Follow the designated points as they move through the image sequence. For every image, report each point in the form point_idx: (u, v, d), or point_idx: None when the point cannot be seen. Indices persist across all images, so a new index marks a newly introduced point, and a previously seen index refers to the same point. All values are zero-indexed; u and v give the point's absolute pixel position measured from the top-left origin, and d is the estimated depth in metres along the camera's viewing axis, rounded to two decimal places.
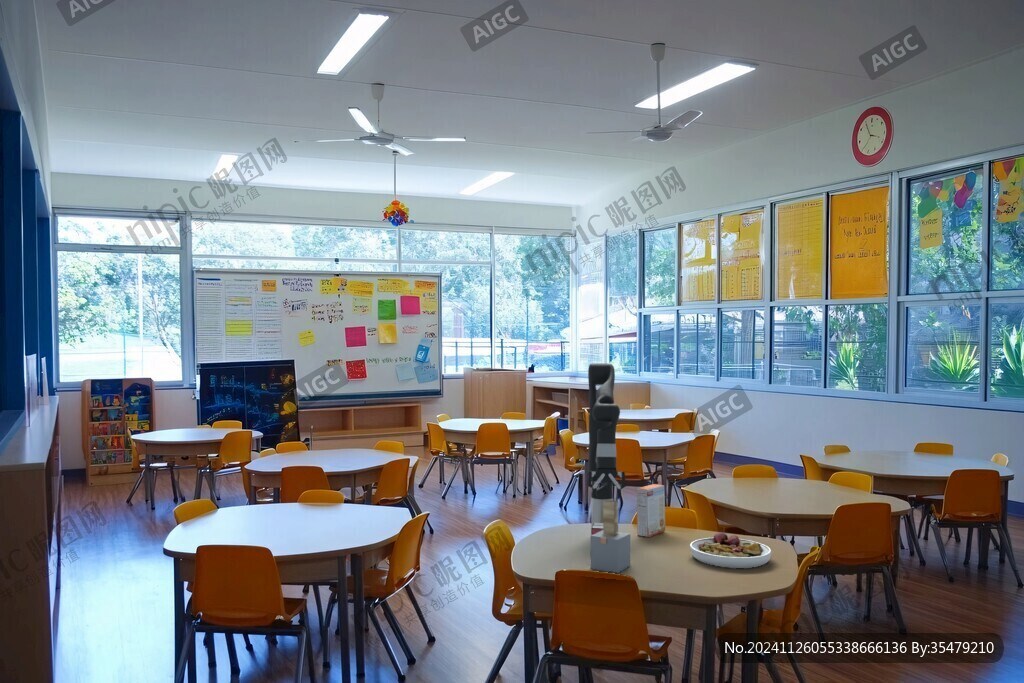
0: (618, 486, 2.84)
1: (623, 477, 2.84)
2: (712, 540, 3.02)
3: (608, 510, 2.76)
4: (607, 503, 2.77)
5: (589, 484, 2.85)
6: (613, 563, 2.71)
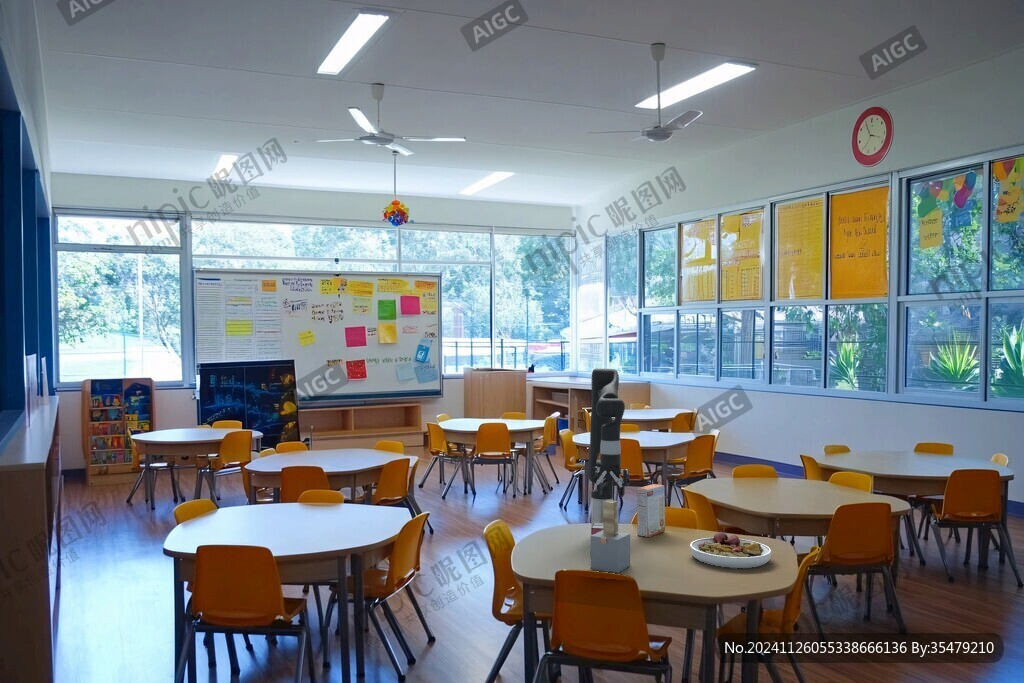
0: (620, 484, 2.75)
1: (624, 475, 2.74)
2: (712, 540, 3.02)
3: (608, 510, 2.76)
4: (607, 503, 2.77)
5: (593, 480, 2.81)
6: (613, 563, 2.71)
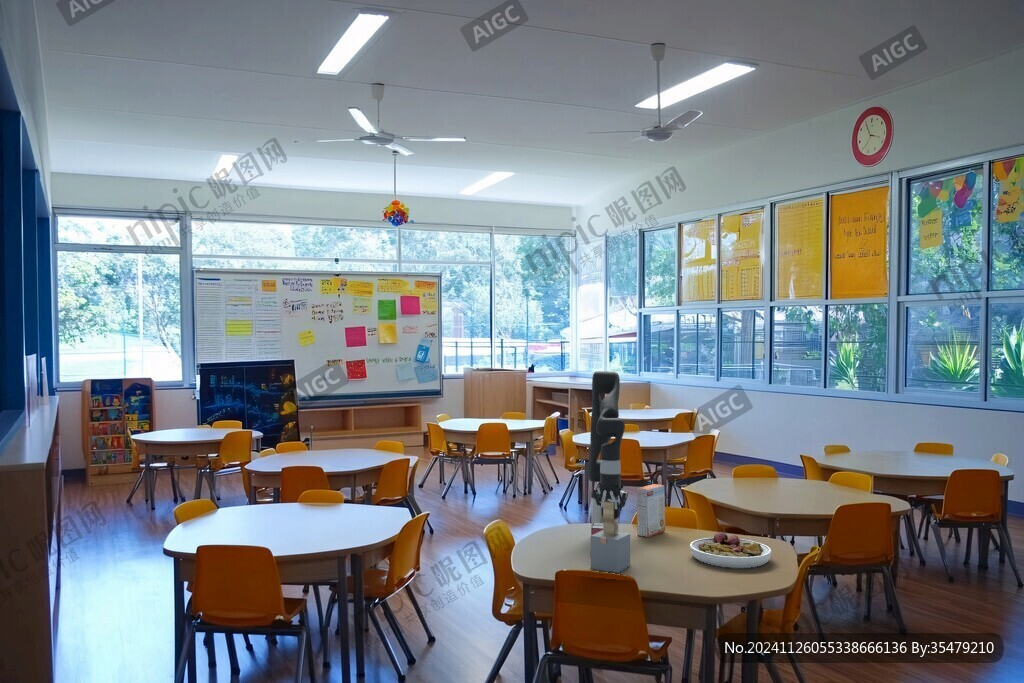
0: (615, 506, 2.76)
1: (622, 498, 2.74)
2: (712, 540, 3.02)
3: (608, 510, 2.76)
4: (607, 503, 2.77)
5: (598, 502, 2.80)
6: (613, 563, 2.71)
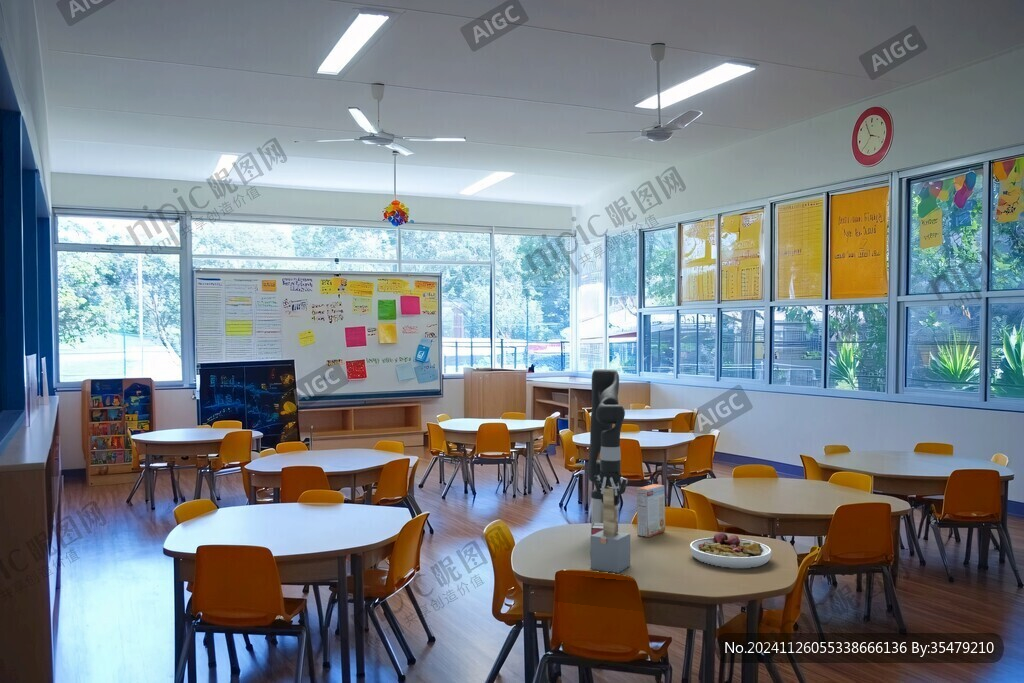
0: (615, 493, 2.76)
1: (622, 485, 2.74)
2: (712, 540, 3.02)
3: (608, 497, 2.76)
4: (607, 490, 2.77)
5: (598, 489, 2.80)
6: (613, 563, 2.71)
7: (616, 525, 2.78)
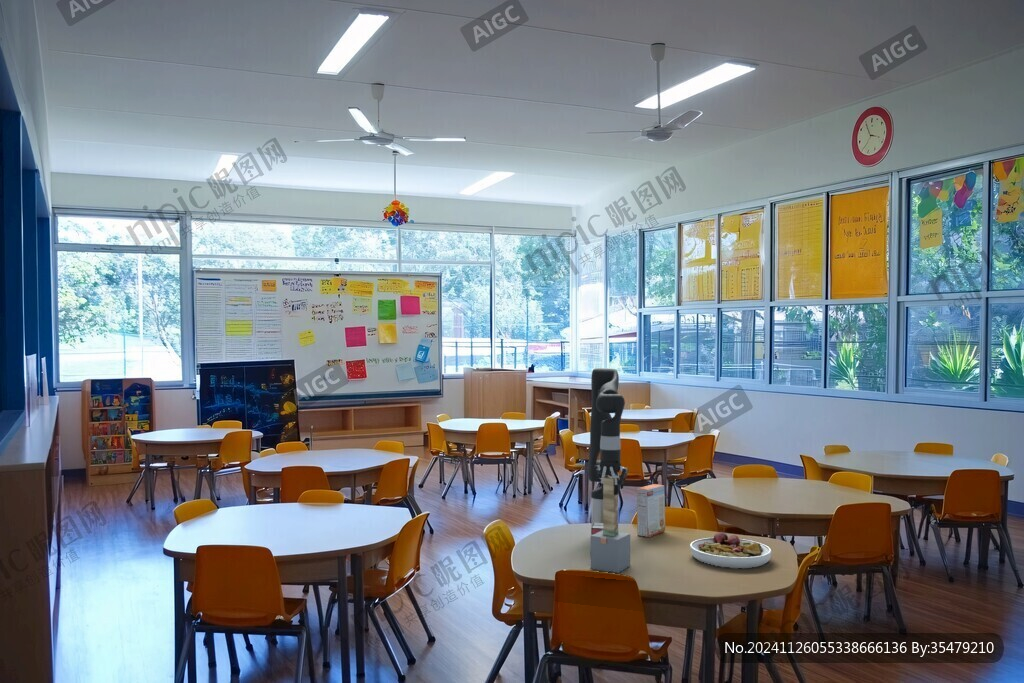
0: (615, 482, 2.76)
1: (622, 474, 2.74)
2: (712, 540, 3.02)
3: (608, 486, 2.76)
4: (607, 479, 2.77)
5: (597, 479, 2.80)
6: (613, 563, 2.71)
7: (616, 514, 2.78)
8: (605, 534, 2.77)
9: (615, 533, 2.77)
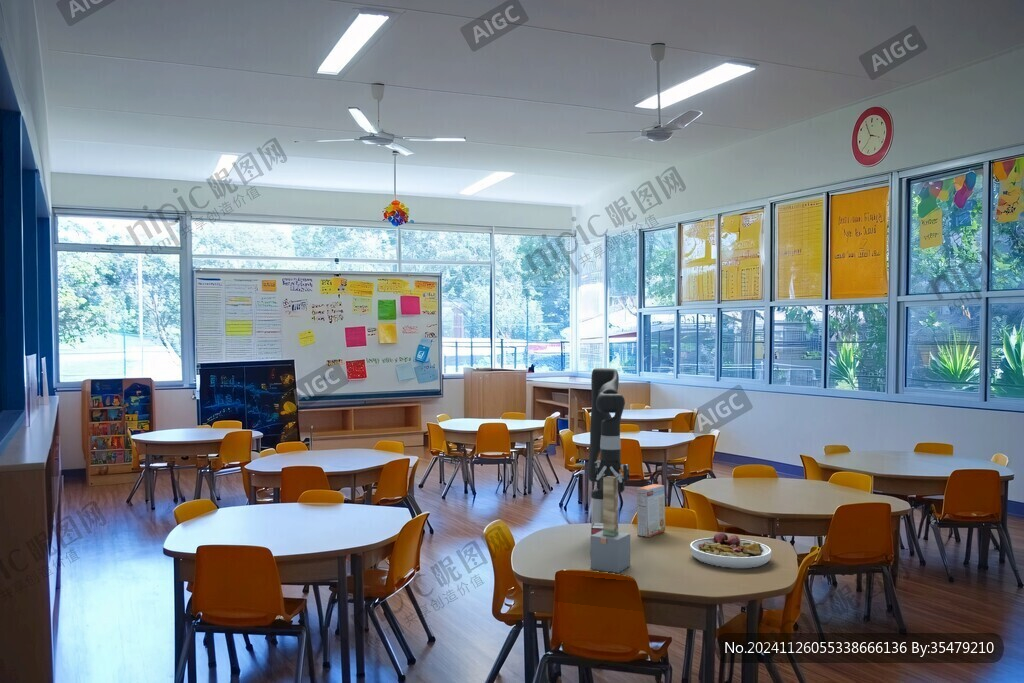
0: (620, 479, 2.75)
1: (624, 471, 2.74)
2: (712, 540, 3.02)
3: (608, 486, 2.76)
4: (607, 479, 2.77)
5: (593, 475, 2.81)
6: (613, 563, 2.71)
7: (616, 514, 2.78)
8: (605, 534, 2.77)
9: (615, 533, 2.77)
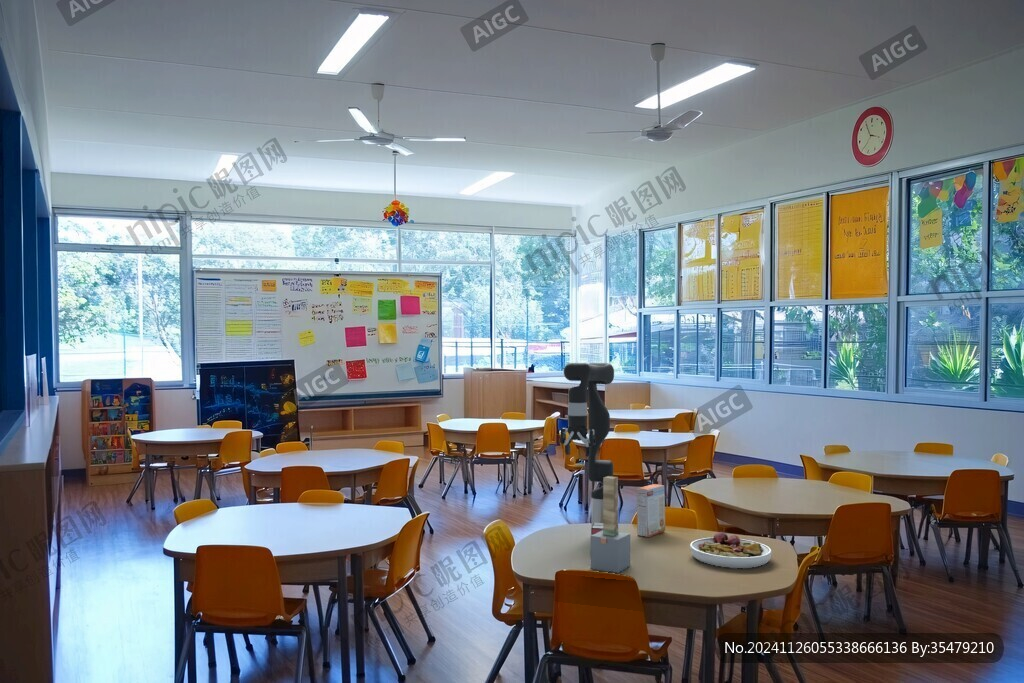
0: (586, 444, 2.88)
1: (591, 436, 2.87)
2: (712, 540, 3.02)
3: (608, 486, 2.76)
4: (607, 479, 2.77)
5: (561, 441, 2.94)
6: (613, 563, 2.71)
7: (616, 514, 2.78)
8: (605, 534, 2.77)
9: (615, 533, 2.77)
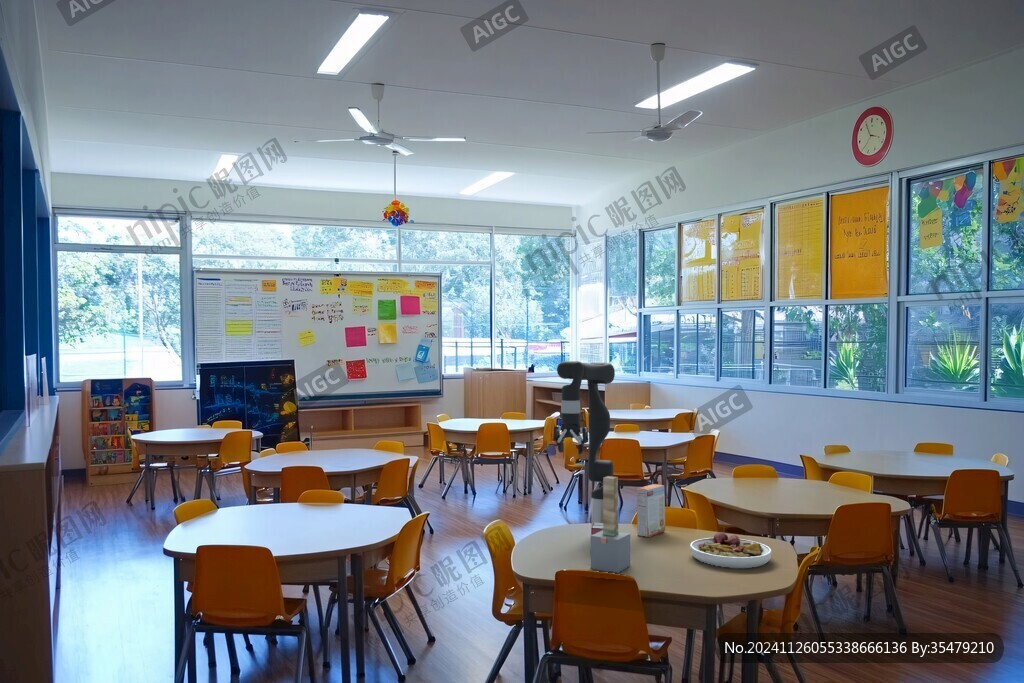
0: (579, 441, 2.91)
1: (583, 433, 2.90)
2: (712, 540, 3.02)
3: (608, 486, 2.76)
4: (607, 479, 2.77)
5: (554, 438, 2.97)
6: (613, 563, 2.71)
7: (616, 514, 2.78)
8: (605, 534, 2.77)
9: (615, 533, 2.77)
